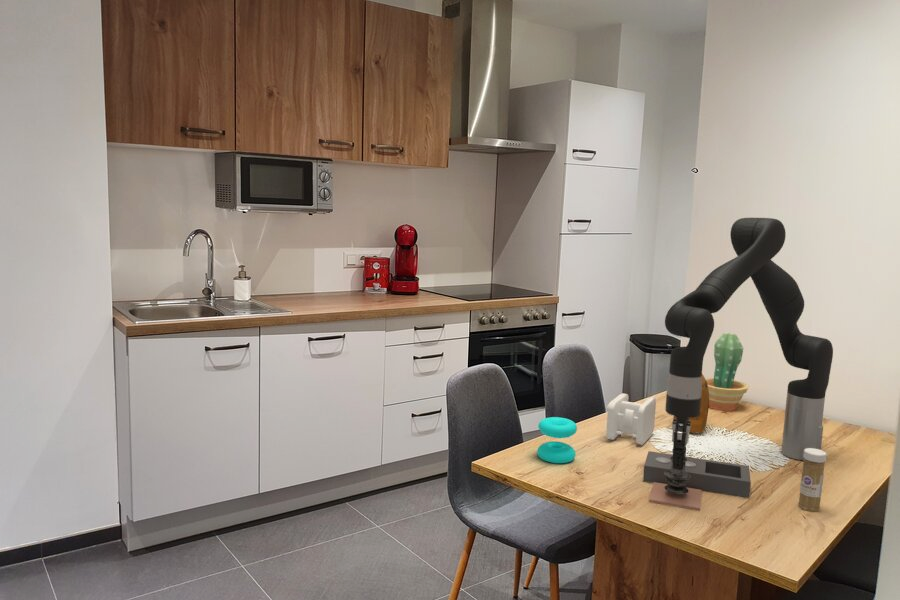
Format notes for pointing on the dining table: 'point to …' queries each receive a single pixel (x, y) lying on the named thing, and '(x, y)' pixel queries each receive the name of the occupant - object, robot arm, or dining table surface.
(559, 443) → the donuts
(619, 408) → the cable organizer
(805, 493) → the sprinkles bottle
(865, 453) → the dining table surface
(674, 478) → the dark chess piece
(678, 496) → the tile pad
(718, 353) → the potted cactus
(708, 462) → the socket strip
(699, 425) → the coffee package
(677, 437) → the robot arm
